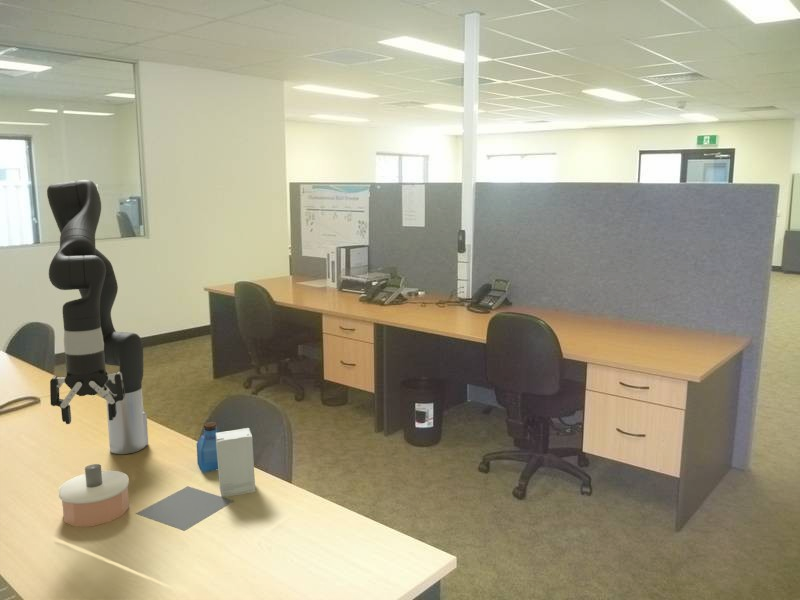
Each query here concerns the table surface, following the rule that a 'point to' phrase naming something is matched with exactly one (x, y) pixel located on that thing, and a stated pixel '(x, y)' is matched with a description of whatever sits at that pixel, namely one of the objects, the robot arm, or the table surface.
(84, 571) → the table surface
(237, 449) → the skincare box
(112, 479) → the lid
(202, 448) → the perfume bottle
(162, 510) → the mat
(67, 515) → the bowl
